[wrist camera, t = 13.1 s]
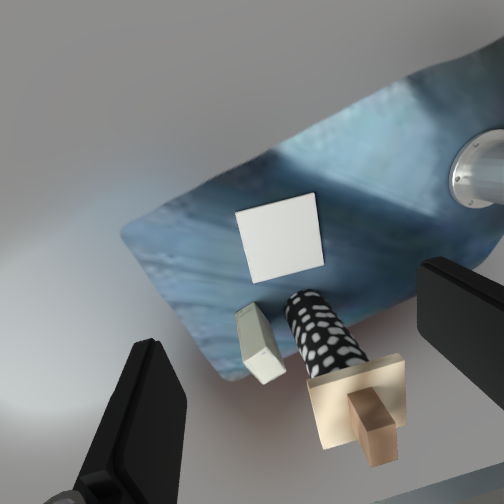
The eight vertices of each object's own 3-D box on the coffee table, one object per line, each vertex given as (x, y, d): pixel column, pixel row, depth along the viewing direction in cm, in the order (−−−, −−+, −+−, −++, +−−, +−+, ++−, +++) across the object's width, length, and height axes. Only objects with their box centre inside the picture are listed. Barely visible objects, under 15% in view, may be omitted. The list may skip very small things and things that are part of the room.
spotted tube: (275, 307, 50) (310, 400, 32) (311, 281, 49) (368, 361, 31) (300, 333, 53) (345, 432, 35) (334, 309, 52) (399, 397, 34)
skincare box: (234, 312, 50) (239, 361, 38) (254, 300, 49) (266, 345, 38) (252, 334, 52) (262, 386, 41) (271, 323, 51) (287, 372, 40)
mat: (313, 192, 43) (314, 193, 43) (322, 263, 48) (323, 264, 48) (234, 212, 43) (235, 213, 42) (252, 281, 48) (253, 283, 47)
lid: (397, 352, 31) (434, 394, 26) (400, 415, 35) (432, 462, 30) (306, 379, 30) (324, 427, 25) (320, 440, 35) (338, 491, 29)
